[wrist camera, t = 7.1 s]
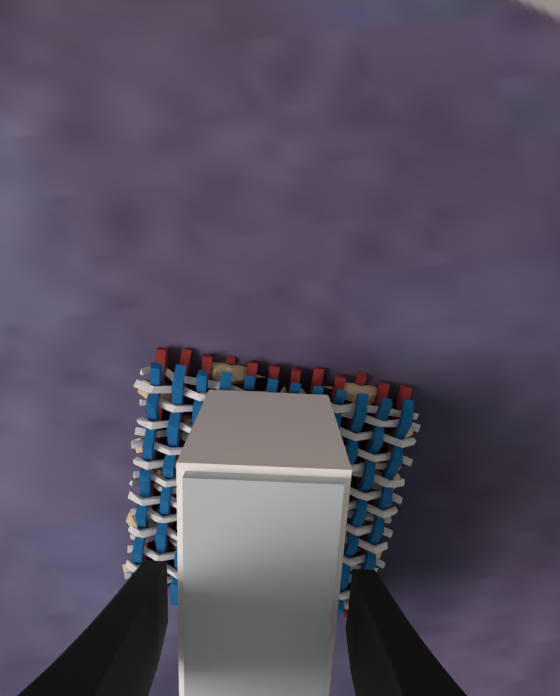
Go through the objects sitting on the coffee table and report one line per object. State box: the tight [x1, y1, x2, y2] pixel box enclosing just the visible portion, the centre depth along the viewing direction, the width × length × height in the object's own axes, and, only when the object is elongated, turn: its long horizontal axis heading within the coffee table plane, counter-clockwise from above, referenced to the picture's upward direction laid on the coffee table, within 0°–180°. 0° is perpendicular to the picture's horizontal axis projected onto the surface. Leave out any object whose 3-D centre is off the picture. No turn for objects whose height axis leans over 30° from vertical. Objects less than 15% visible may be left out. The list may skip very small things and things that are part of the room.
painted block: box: [176, 390, 352, 696], centre depth 13 cm, size 4×9×5 cm, turn 177°
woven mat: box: [123, 347, 420, 619], centre depth 17 cm, size 10×11×2 cm
